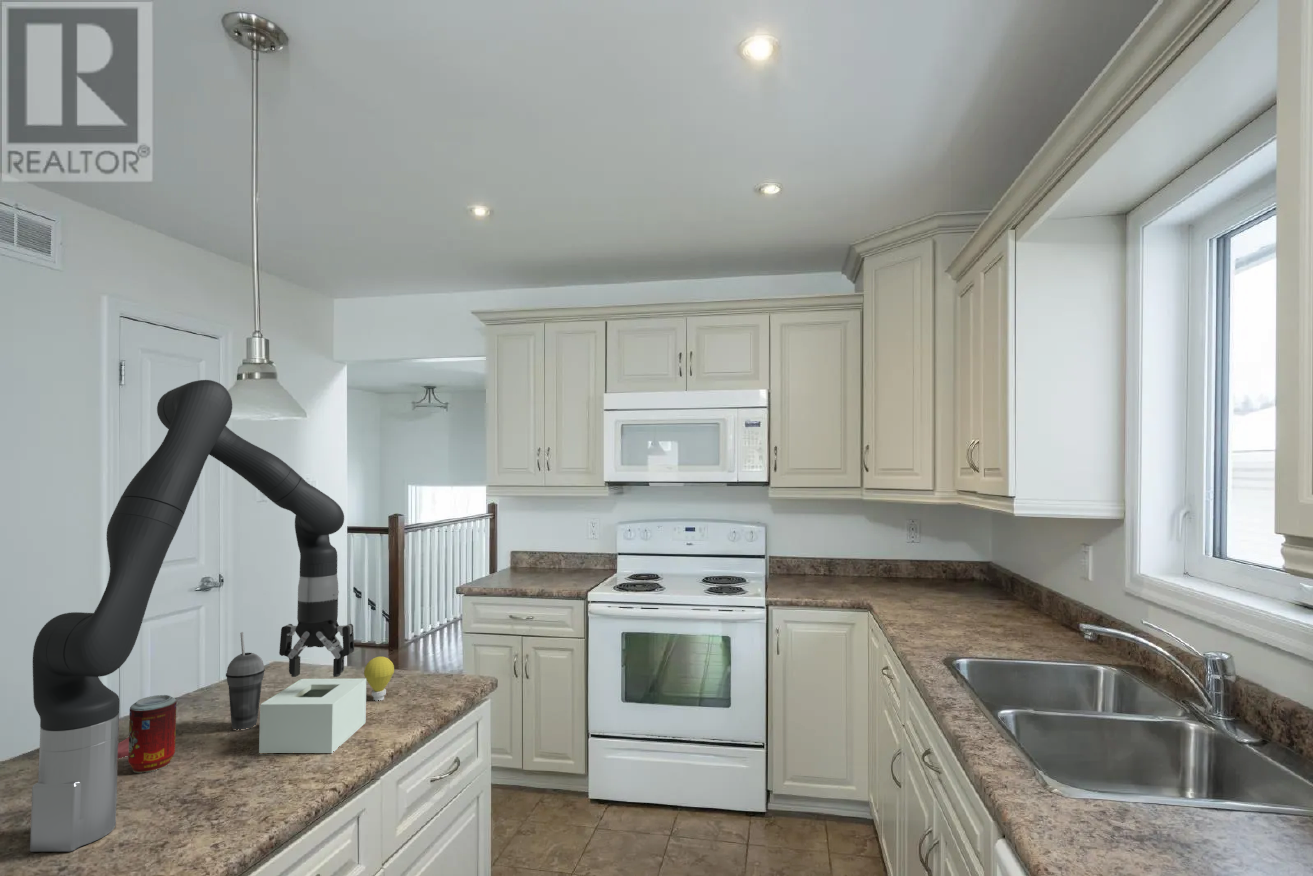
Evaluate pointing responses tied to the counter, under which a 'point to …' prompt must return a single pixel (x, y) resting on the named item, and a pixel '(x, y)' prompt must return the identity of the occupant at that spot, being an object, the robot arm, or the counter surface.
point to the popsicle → (123, 748)
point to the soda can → (152, 733)
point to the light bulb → (378, 675)
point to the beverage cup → (244, 688)
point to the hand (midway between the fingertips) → (316, 676)
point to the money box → (312, 716)
